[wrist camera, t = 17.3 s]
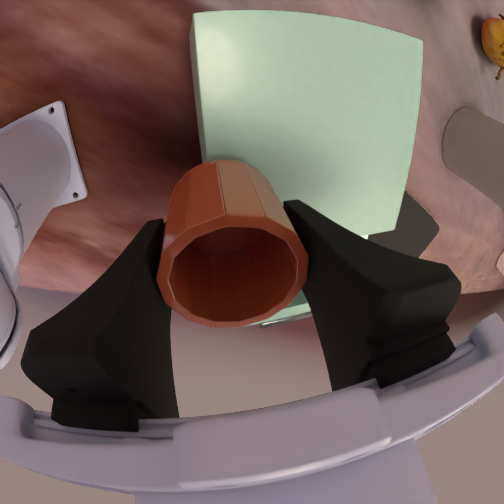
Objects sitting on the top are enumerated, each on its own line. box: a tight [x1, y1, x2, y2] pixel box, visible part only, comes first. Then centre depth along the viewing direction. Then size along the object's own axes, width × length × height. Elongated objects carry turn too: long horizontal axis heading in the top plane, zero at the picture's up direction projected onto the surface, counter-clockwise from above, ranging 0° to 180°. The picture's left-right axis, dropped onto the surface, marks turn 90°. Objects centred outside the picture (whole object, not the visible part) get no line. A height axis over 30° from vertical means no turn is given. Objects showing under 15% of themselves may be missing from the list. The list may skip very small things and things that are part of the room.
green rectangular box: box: [189, 10, 423, 236], centre depth 15 cm, size 13×12×8 cm
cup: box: [442, 108, 504, 210], centre depth 19 cm, size 8×8×10 cm
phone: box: [368, 191, 439, 258], centre depth 28 cm, size 7×1×15 cm
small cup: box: [156, 159, 309, 328], centre depth 10 cm, size 5×5×4 cm
